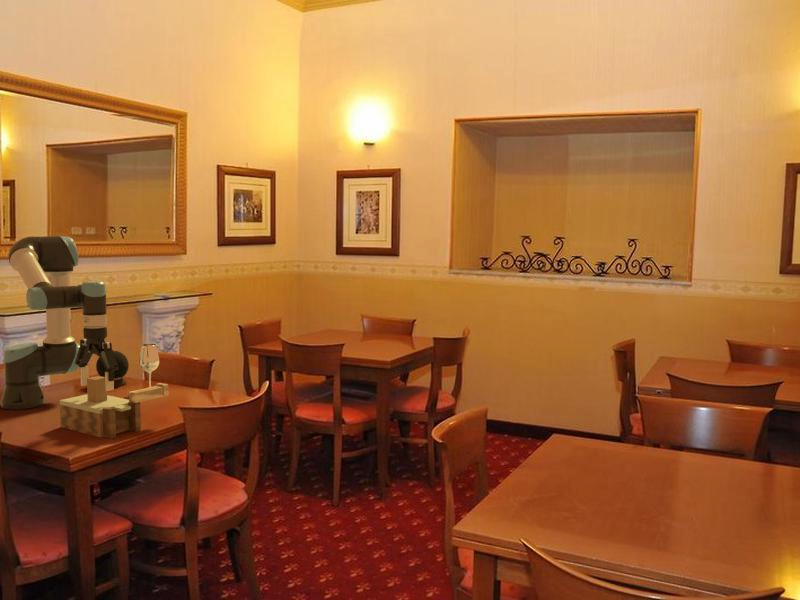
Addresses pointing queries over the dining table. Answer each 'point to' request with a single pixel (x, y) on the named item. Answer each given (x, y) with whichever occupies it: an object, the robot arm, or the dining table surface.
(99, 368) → the dark ball on base
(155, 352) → the wineglass
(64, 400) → the lid
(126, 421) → the wooden box
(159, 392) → the light wooden bar
